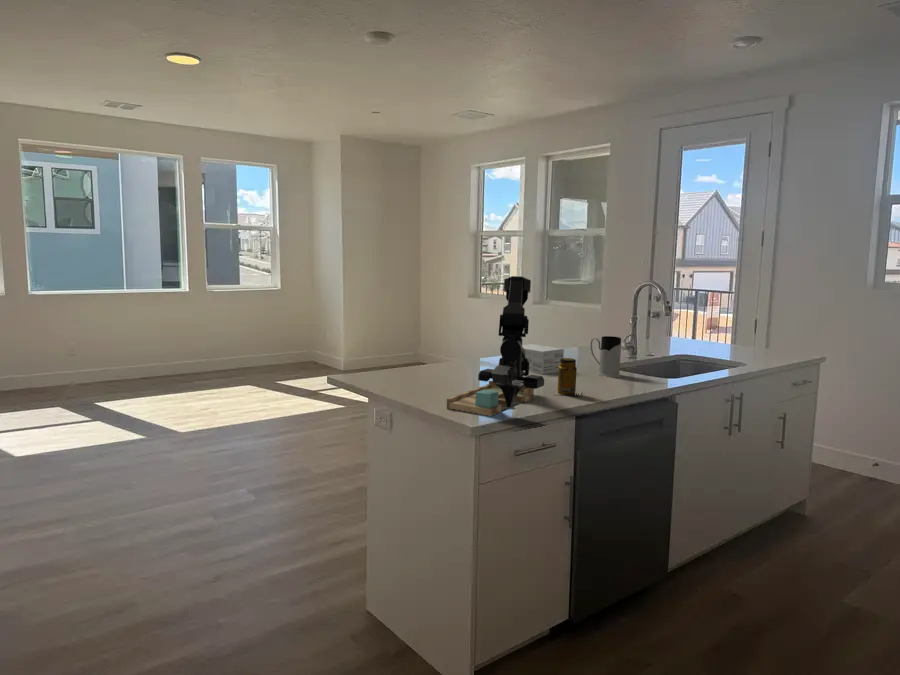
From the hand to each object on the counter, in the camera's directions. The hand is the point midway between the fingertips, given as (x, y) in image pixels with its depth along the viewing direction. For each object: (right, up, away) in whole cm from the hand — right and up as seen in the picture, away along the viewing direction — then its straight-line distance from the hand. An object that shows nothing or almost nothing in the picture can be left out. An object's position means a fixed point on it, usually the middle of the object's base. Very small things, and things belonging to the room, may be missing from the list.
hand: (509, 407), depth 186 cm
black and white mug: (+44, +6, +70) cm, 83 cm away
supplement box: (+18, +7, +75) cm, 78 cm away
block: (-6, 0, +4) cm, 8 cm away
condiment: (+23, +1, +32) cm, 39 cm away
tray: (-4, 0, +14) cm, 15 cm away
